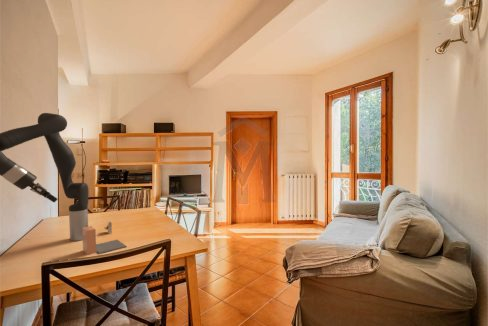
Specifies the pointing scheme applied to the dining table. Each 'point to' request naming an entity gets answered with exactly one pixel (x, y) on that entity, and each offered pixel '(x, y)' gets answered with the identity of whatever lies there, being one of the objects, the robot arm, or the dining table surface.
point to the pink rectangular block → (89, 240)
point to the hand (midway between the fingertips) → (55, 200)
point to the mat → (109, 246)
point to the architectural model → (109, 227)
